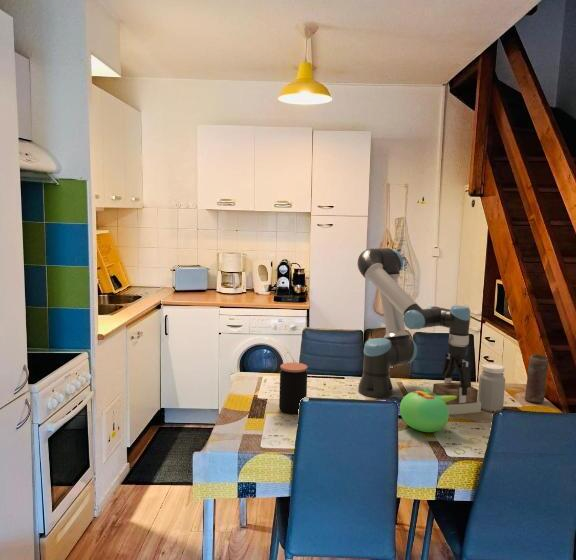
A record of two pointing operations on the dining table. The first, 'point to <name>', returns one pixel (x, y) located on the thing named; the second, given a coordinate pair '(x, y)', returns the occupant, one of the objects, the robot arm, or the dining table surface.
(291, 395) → the coffee jar
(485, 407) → the jar
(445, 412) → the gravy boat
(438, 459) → the dining table surface
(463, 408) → the panel
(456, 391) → the brown hollow cube
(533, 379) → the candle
